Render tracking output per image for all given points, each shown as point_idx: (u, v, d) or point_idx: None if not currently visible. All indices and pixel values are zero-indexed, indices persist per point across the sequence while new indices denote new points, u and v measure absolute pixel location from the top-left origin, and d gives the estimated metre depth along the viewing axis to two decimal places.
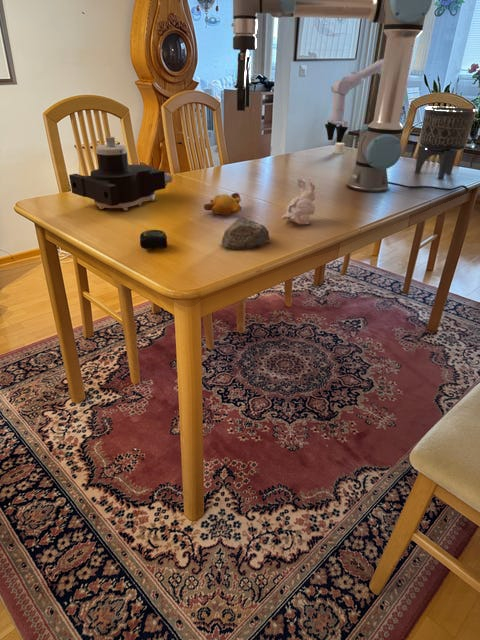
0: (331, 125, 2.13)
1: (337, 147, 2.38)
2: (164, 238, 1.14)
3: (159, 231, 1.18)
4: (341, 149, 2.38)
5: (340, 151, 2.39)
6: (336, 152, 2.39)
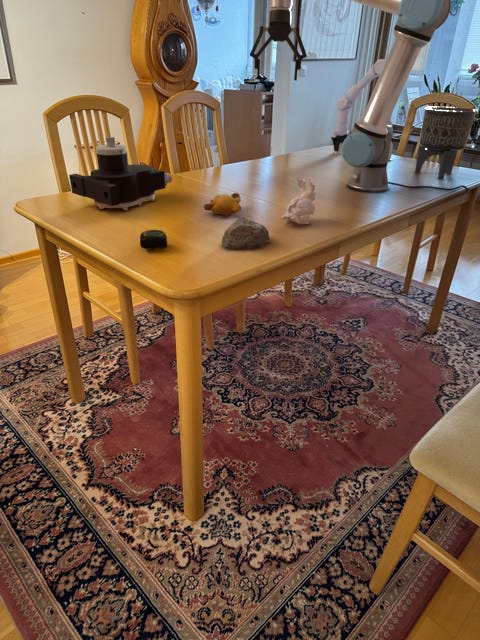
0: (342, 137, 2.39)
1: None
2: (164, 238, 1.14)
3: (159, 231, 1.18)
4: (341, 149, 2.38)
5: (340, 151, 2.39)
6: (336, 152, 2.39)
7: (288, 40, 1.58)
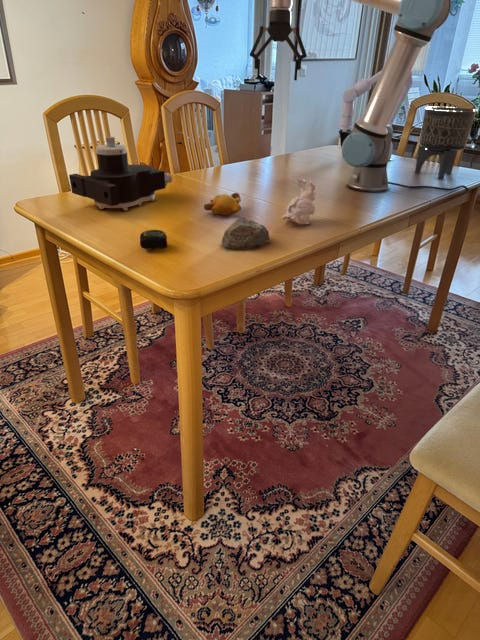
0: None
1: None
2: (164, 238, 1.14)
3: (159, 231, 1.18)
4: None
5: None
6: None
7: (288, 40, 1.58)
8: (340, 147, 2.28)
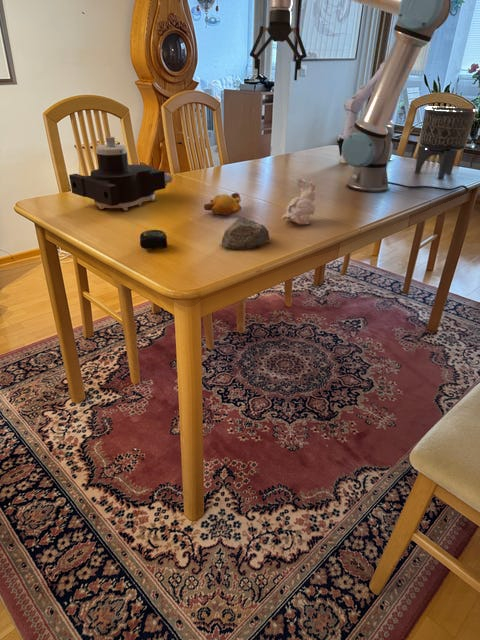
0: (343, 141, 2.19)
1: None
2: (164, 238, 1.14)
3: (159, 231, 1.18)
4: None
5: None
6: None
7: (288, 40, 1.58)
8: None
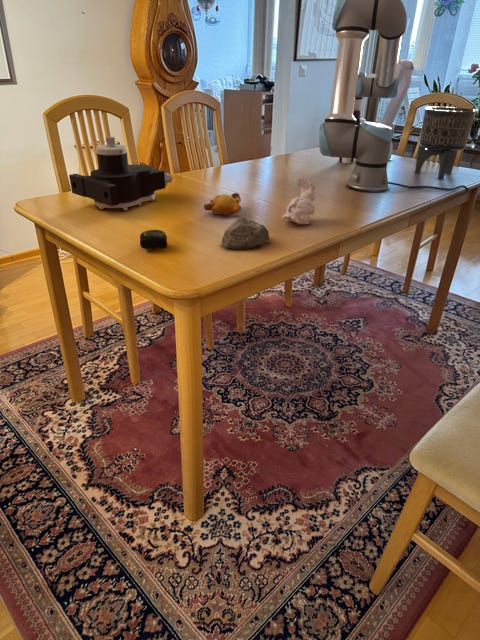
0: None
1: None
2: (164, 238, 1.14)
3: (159, 231, 1.18)
4: None
5: None
6: (349, 161, 2.18)
7: None
8: (346, 161, 2.18)
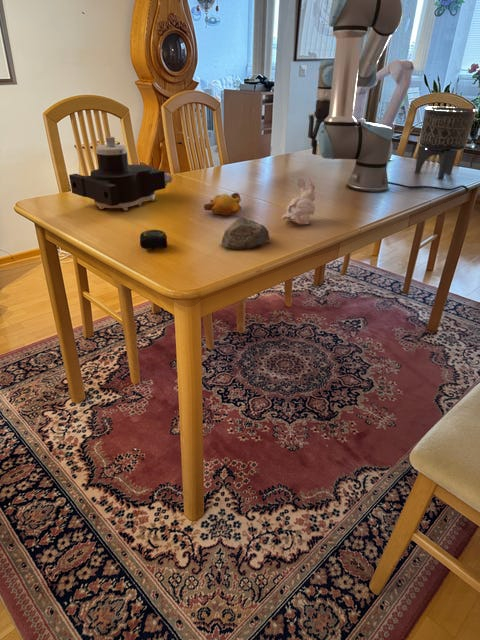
0: None
1: None
2: (164, 238, 1.14)
3: (159, 231, 1.18)
4: None
5: None
6: None
7: None
8: None
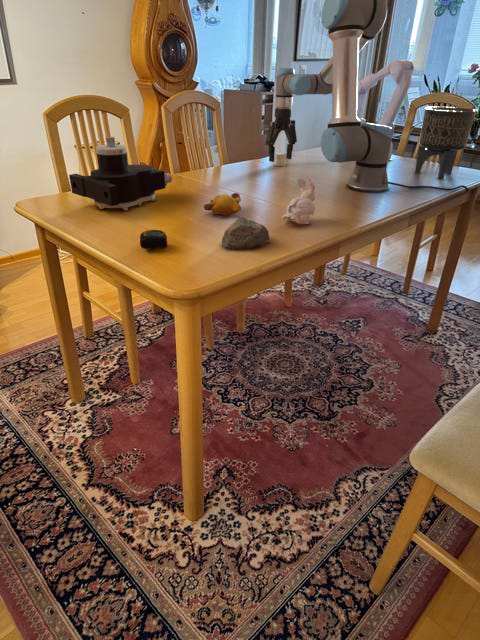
0: None
1: (285, 157, 2.10)
2: (164, 238, 1.14)
3: (159, 231, 1.18)
4: None
5: None
6: (284, 163, 2.11)
7: (289, 130, 2.05)
8: (283, 164, 2.10)
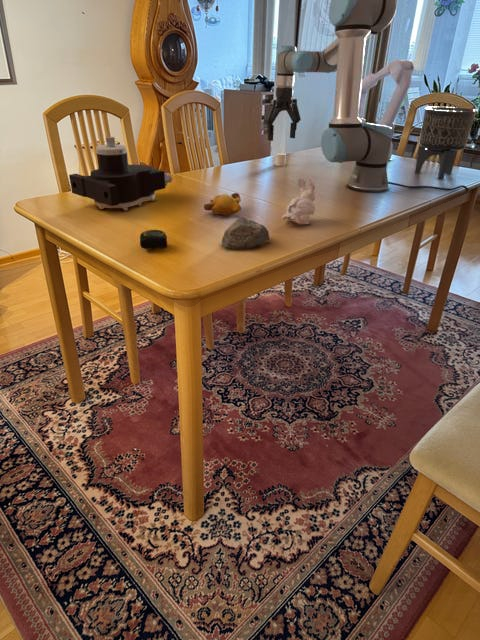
0: None
1: (285, 157, 2.10)
2: (164, 238, 1.14)
3: (159, 231, 1.18)
4: None
5: None
6: (284, 163, 2.11)
7: (291, 109, 2.01)
8: (283, 164, 2.10)
